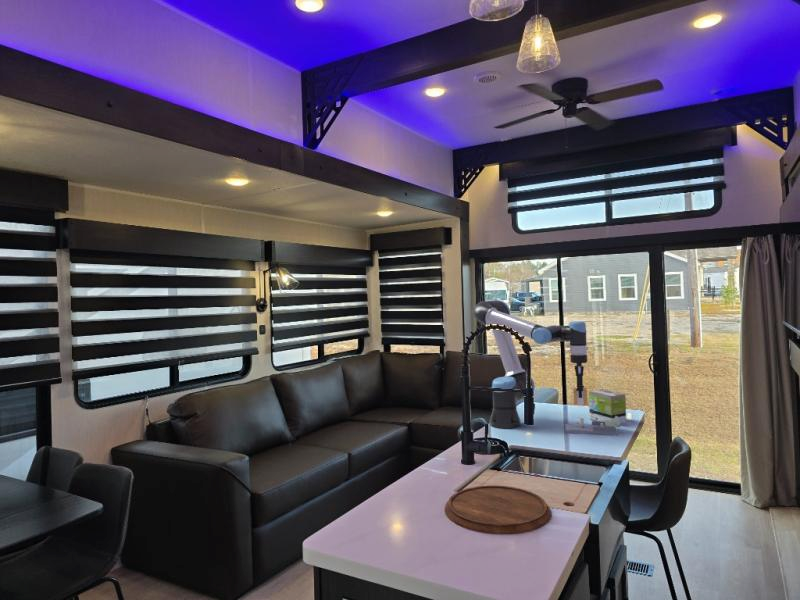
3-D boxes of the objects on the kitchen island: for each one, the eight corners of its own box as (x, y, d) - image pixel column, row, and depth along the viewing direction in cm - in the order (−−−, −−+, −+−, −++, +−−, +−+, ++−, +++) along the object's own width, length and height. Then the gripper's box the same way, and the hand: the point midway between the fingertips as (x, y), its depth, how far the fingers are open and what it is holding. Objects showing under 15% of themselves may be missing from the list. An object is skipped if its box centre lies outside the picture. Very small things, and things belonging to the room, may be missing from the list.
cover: (605, 426, 239) (605, 420, 239) (604, 422, 247) (604, 415, 247) (619, 427, 237) (619, 420, 237) (617, 422, 245) (617, 416, 245)
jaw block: (574, 404, 244) (573, 389, 244) (573, 402, 250) (573, 387, 250) (587, 404, 242) (586, 389, 242) (587, 402, 248) (586, 387, 248)
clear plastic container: (565, 432, 243) (565, 421, 243) (565, 426, 254) (565, 415, 254) (616, 435, 236) (616, 423, 236) (614, 428, 248) (614, 416, 248)
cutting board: (478, 484, 182) (478, 477, 182) (568, 506, 162) (567, 497, 162) (423, 517, 157) (423, 508, 157) (521, 546, 137) (521, 537, 137)
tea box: (588, 419, 266) (588, 390, 266) (603, 417, 270) (602, 388, 270) (612, 425, 253) (611, 395, 252) (627, 423, 257) (626, 393, 257)
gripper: (587, 356, 236) (589, 407, 236) (586, 351, 254) (588, 399, 254) (570, 356, 238) (572, 407, 238) (570, 352, 256) (571, 398, 256)
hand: (580, 402), depth 246 cm, fingers closed on jaw block, 6 cm apart
